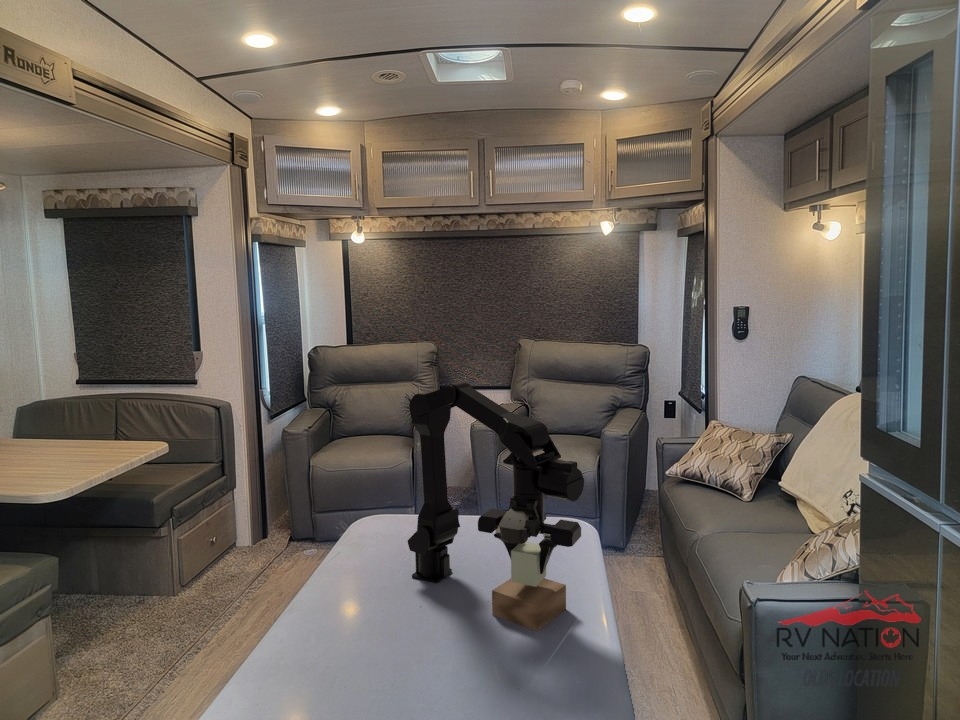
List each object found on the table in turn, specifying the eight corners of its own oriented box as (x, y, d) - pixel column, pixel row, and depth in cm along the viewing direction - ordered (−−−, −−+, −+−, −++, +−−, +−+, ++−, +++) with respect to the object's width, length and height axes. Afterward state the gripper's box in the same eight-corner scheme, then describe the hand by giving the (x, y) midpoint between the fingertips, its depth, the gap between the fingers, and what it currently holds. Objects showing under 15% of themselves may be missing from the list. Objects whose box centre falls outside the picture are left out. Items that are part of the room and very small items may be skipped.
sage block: (511, 581, 122) (511, 550, 122) (521, 571, 127) (521, 541, 126) (536, 586, 120) (536, 555, 119) (546, 575, 124) (546, 545, 124)
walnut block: (492, 615, 123) (492, 590, 123) (522, 595, 131) (522, 571, 131) (537, 632, 117) (537, 605, 117) (565, 609, 125) (565, 584, 125)
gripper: (463, 496, 118) (464, 578, 120) (561, 511, 110) (561, 599, 112) (490, 479, 128) (491, 555, 130) (582, 491, 120) (581, 573, 122)
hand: (528, 570), depth 123 cm, fingers closed on sage block, 5 cm apart
